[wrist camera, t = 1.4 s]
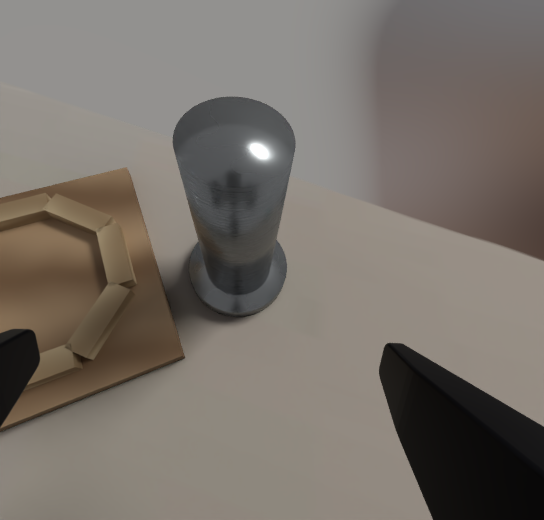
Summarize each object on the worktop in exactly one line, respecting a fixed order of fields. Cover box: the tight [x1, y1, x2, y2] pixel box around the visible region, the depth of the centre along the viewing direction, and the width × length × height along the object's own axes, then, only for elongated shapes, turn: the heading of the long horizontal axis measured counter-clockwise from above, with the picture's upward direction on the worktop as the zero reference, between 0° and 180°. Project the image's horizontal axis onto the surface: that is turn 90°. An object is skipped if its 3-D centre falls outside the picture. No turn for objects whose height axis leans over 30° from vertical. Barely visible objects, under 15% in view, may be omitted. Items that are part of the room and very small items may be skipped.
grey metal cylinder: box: [173, 97, 295, 317], centre depth 18 cm, size 7×7×13 cm
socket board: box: [0, 167, 185, 432], centre depth 20 cm, size 16×16×4 cm
